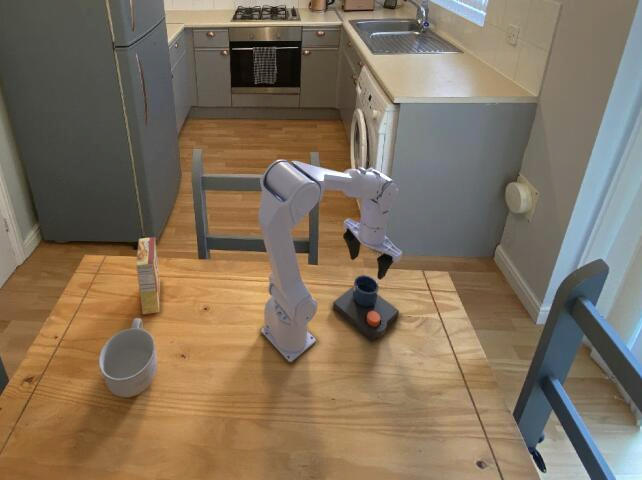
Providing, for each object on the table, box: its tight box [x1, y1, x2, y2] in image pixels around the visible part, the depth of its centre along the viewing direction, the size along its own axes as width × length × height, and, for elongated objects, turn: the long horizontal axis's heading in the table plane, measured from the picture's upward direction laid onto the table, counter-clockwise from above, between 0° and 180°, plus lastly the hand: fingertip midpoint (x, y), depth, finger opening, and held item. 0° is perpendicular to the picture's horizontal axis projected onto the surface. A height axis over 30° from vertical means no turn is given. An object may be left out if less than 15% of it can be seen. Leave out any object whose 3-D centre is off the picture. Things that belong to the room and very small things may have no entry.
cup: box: [353, 274, 380, 307], centre depth 99 cm, size 5×6×4 cm
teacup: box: [98, 317, 158, 398], centre depth 85 cm, size 14×11×8 cm
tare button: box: [367, 311, 380, 327], centre depth 92 cm, size 3×3×2 cm
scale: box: [332, 285, 400, 342], centre depth 97 cm, size 12×11×4 cm
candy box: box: [135, 236, 161, 315], centre depth 100 cm, size 9×4×15 cm, turn 9°
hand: (367, 266), depth 99 cm, fingers open, 7 cm apart
